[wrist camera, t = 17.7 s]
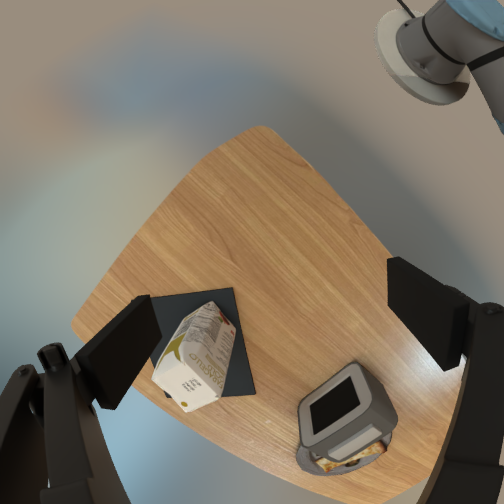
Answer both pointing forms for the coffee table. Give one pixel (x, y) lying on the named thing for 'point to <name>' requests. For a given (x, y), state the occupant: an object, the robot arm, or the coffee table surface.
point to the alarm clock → (345, 415)
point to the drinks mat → (182, 305)
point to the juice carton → (197, 358)
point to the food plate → (327, 468)
